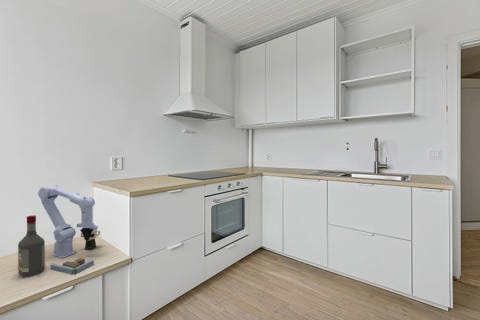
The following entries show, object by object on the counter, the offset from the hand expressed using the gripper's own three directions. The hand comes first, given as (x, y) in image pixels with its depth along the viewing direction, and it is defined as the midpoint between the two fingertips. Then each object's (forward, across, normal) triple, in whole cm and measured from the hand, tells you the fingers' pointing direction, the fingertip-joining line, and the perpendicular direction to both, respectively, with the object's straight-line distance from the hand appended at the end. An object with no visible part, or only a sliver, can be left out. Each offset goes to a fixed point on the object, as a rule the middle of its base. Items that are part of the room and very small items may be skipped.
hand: (87, 239), depth 141 cm
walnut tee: (+10, -8, +13) cm, 18 cm away
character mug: (+10, +8, -9) cm, 16 cm away
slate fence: (+10, -5, +13) cm, 17 cm away
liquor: (+10, +9, +24) cm, 28 cm away
